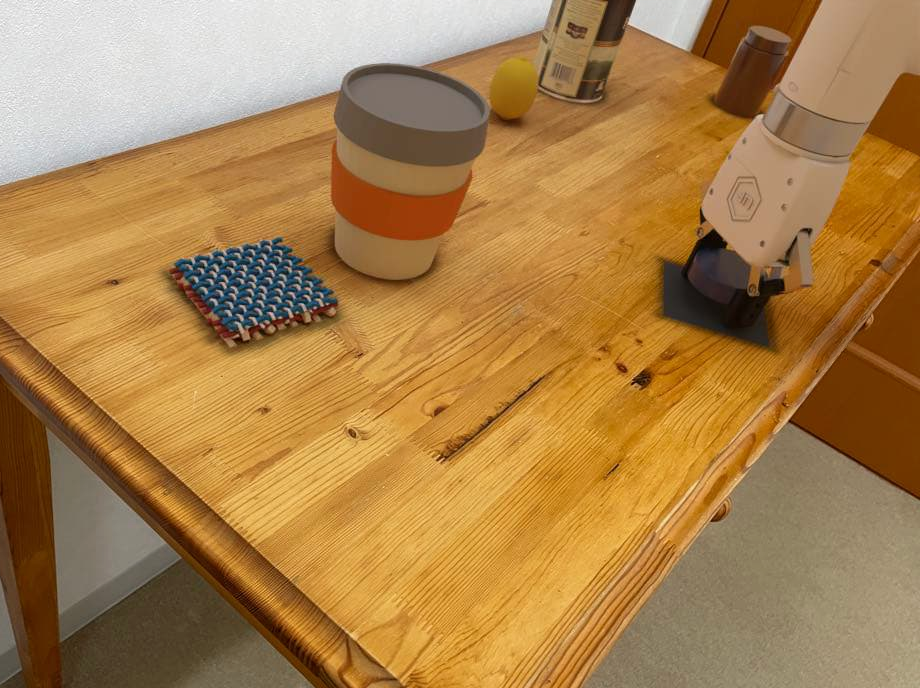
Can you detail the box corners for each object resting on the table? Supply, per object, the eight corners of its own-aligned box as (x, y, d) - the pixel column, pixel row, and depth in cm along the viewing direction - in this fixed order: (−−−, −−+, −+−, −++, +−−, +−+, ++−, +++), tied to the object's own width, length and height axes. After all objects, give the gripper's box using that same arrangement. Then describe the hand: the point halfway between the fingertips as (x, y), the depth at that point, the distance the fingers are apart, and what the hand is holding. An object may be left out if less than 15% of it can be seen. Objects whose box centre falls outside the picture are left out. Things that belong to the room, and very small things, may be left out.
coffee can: (594, 79, 119) (632, -27, 110) (607, 111, 112) (649, -1, 102) (523, 66, 118) (555, -43, 108) (532, 97, 110) (567, -17, 101)
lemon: (501, 107, 106) (519, 43, 101) (535, 126, 104) (555, 62, 99) (473, 115, 103) (490, 49, 98) (507, 135, 101) (527, 69, 95)
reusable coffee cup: (388, 313, 71) (425, 147, 61) (285, 241, 76) (305, 77, 66) (477, 265, 79) (523, 112, 69) (378, 203, 84) (409, 52, 74)
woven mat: (163, 277, 69) (163, 256, 68) (276, 251, 75) (278, 231, 73) (225, 354, 64) (226, 333, 62) (341, 319, 69) (345, 300, 68)
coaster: (760, 293, 84) (762, 289, 84) (768, 351, 77) (770, 348, 77) (662, 264, 85) (663, 260, 85) (661, 319, 78) (662, 315, 78)
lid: (686, 293, 77) (695, 276, 76) (686, 256, 82) (694, 239, 81) (762, 315, 77) (772, 298, 75) (756, 276, 82) (766, 259, 80)
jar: (755, 107, 123) (792, 33, 115) (758, 124, 118) (797, 48, 111) (711, 95, 123) (745, 20, 116) (713, 111, 118) (748, 34, 111)
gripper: (718, 74, 73) (639, 248, 85) (843, 177, 62) (731, 362, 74) (788, 79, 76) (701, 248, 88) (921, 180, 64) (800, 359, 76)
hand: (715, 299), depth 81 cm, fingers closed on lid, 6 cm apart
